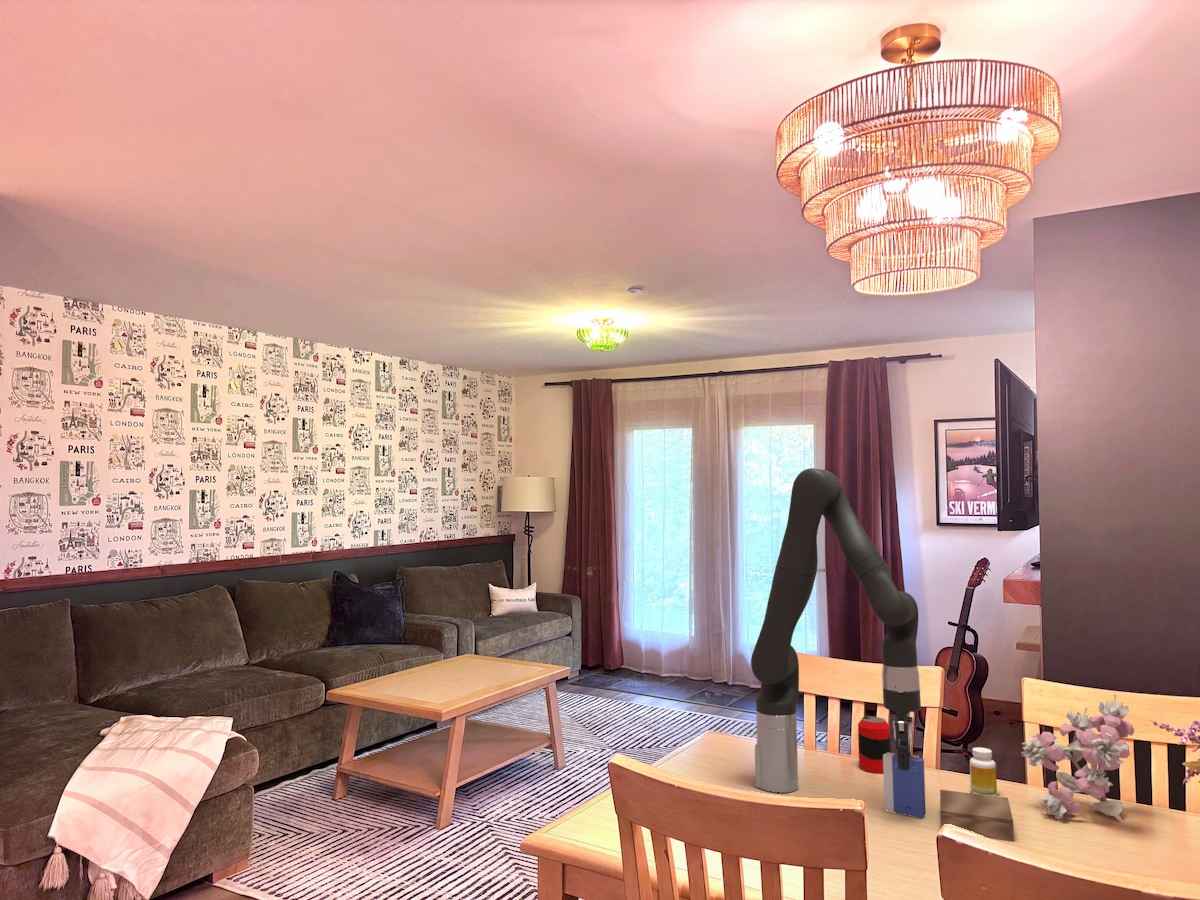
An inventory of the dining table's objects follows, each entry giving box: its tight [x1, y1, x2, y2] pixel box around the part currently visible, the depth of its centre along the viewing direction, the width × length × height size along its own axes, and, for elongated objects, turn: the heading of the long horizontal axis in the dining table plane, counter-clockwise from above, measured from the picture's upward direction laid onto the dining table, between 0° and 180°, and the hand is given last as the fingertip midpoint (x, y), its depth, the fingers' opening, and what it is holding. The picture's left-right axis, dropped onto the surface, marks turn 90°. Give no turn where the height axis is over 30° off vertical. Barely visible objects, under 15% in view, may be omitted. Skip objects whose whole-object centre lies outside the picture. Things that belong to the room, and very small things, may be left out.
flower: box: [1020, 694, 1135, 822], centre depth 169 cm, size 20×22×25 cm
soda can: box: [857, 716, 892, 774], centre depth 198 cm, size 8×8×12 cm
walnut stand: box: [939, 789, 1015, 842], centre depth 163 cm, size 13×13×4 cm
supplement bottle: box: [969, 747, 998, 796], centre depth 180 cm, size 5×5×10 cm
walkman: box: [882, 752, 927, 819], centre depth 169 cm, size 8×3×12 cm, turn 53°
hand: (904, 763), depth 169 cm, fingers open, 8 cm apart
